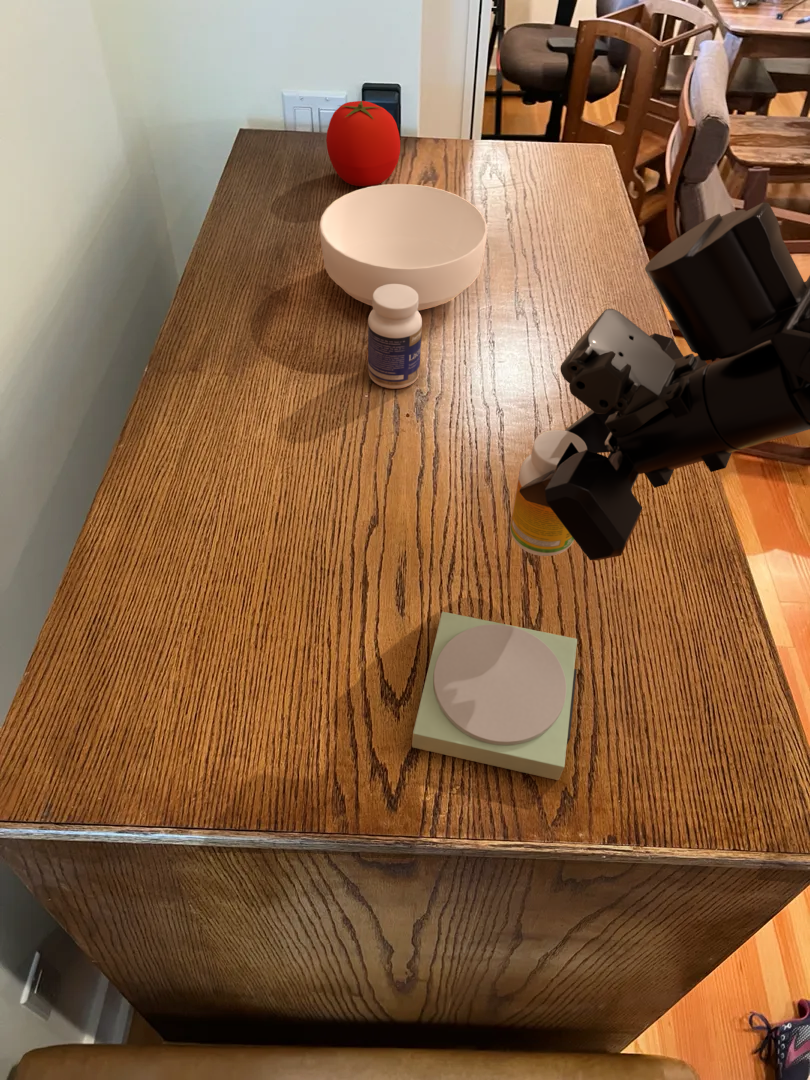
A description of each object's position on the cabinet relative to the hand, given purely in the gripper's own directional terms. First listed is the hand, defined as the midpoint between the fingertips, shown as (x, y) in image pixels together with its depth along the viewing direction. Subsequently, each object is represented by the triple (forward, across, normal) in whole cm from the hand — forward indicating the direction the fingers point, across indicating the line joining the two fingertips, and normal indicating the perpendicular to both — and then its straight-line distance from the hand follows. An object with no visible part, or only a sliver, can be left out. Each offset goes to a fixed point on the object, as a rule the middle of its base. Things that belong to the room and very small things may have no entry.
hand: (537, 470), depth 59 cm
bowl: (+30, -34, -13) cm, 47 cm away
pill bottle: (+25, -18, -8) cm, 31 cm away
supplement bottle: (+4, 0, +6) cm, 7 cm away
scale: (+6, +13, +11) cm, 18 cm away
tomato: (+43, -55, -27) cm, 75 cm away
